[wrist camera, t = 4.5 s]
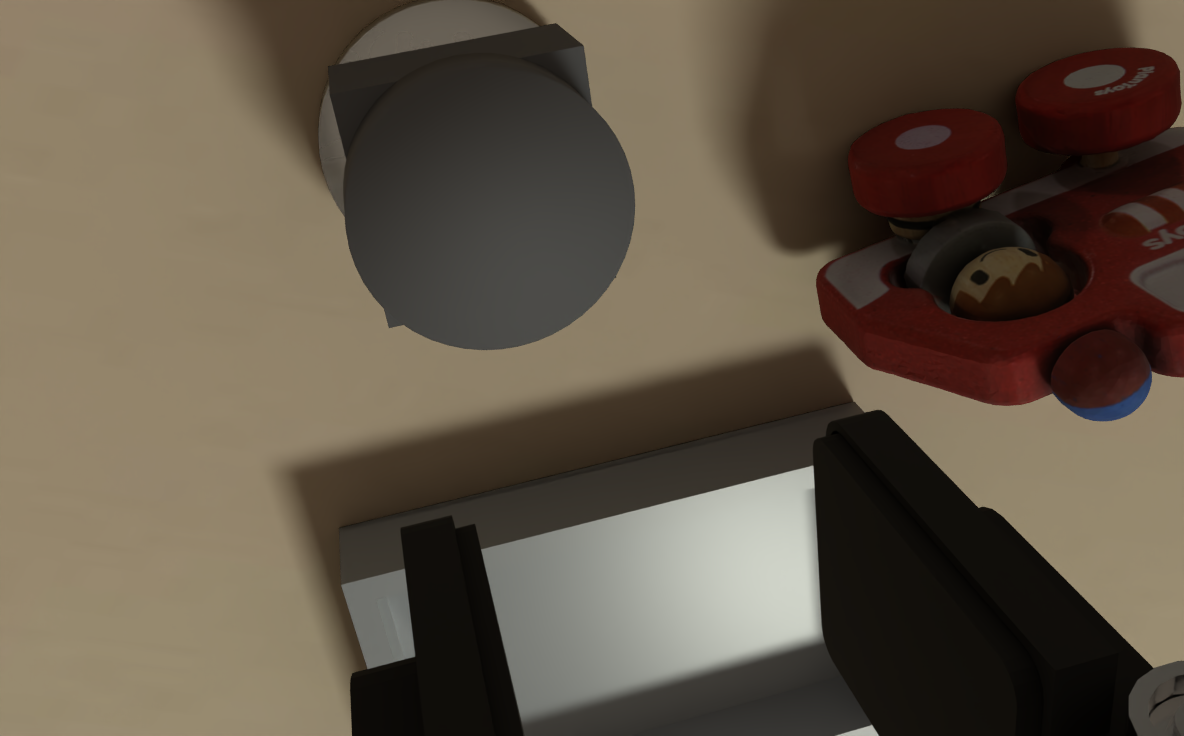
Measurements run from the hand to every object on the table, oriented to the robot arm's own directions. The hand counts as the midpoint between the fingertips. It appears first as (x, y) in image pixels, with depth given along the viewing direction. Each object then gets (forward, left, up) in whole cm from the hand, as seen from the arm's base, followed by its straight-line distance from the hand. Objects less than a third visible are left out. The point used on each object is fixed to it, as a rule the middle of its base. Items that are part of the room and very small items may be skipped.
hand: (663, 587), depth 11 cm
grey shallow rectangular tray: (-2, +17, -19) cm, 26 cm away
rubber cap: (0, 0, -17) cm, 17 cm away
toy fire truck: (-15, +5, -20) cm, 25 cm away
